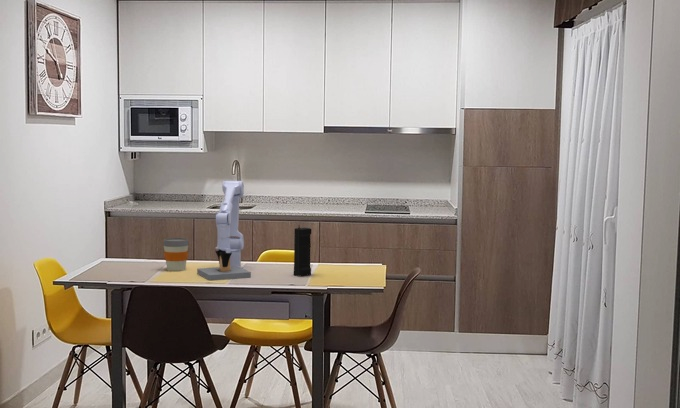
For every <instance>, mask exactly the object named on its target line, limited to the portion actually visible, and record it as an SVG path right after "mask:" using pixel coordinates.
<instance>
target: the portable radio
mask: <svg viewBox="0 0 680 408" xmlns="http://www.w3.org/2000/svg"><path fill="white" fill-rule="evenodd" d="M311 235H312V228H310V227H300V226H298V227H297V228H294V235H293V236H294V244H293V245H294V246H293V247H294V248H293V250H294V251H293V252H294V253H293V276H296V277H307V276H311V275H312V268H311V247H312V244H311V243H312V242H311Z"/></svg>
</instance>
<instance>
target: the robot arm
mask: <svg viewBox="0 0 680 408" xmlns="http://www.w3.org/2000/svg"><path fill="white" fill-rule="evenodd" d="M221 184H222V192H223V194H224V199H223V201H221V203H220V206H219V210H218V213H216V214H215V225H216V230H217V237H216V238H217V241H216V242H217V243H216V244H217V245H216V247H214V249H215V253H216V255H217V259H218V263H219V265H220V256H221V259H222V265H223V267H228V262H229V259H230V266H238V267H240V268H243V269H244V267H243V266H242V264H241V263H242V262H241V261H242V259H241V258H242V257H241V255H242V254H241V251H242V250H244V246H245V240H244V237H245V236H244V234H243V233H242V232H240V231H239V222H240V220H239V218H240V216H239V215H240V213H239V212H240V202H241V199H242V198H244V191H245V190H244V188H245V186H244V184H245V183H244V181H243V180H223V181H222V183H221Z"/></svg>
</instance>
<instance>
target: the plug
mask: <svg viewBox="0 0 680 408" xmlns="http://www.w3.org/2000/svg"><path fill="white" fill-rule="evenodd" d="M219 267H220V272H224V271H230V259H229V262H228V267H223V265H222V259H221V256H220V264H219Z"/></svg>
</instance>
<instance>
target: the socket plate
mask: <svg viewBox="0 0 680 408" xmlns="http://www.w3.org/2000/svg"><path fill="white" fill-rule="evenodd" d="M196 269H197V270H196V272H197V275H199V276H201V278H202V277H203V278H204V279H206V280H208V281H210V282H211V281H222V280H233V279H248V278H250V279H251V277H252V272H251V271H249V270H247V269H245V268H244V267H243V268H240V267H238V266H230V271H224V272H220V266H216V267H202V268H201V267H200V268H196Z"/></svg>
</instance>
